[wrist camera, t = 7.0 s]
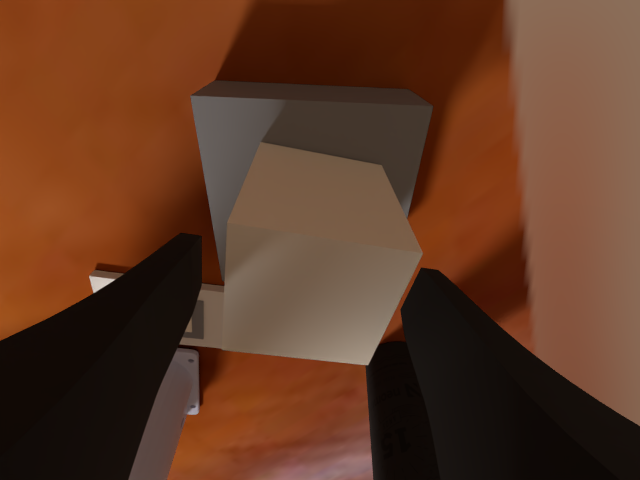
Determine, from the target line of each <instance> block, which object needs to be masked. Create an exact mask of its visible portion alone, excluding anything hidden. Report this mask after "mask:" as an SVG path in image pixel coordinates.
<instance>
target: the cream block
mask: <svg viewBox="0 0 640 480" xmlns="http://www.w3.org/2000/svg"><path fill="white" fill-rule="evenodd" d="M422 254H423V252H422V250H421V248H420V246H419V244H418V242H417V240H416V237H415V235H414V233H413V231H412V229H411V227H410V225H409V223H408V220H407V218H406V216H405V214H404V212H403V210H402V208H401V205H400V203H399V201H398V199H397V197H396V195H395V193H394V190H393V188H392V186H391V184H390V182H389V180H388V178H387V176H386V173H385V171H384V169H383V167H382V165H378V164H373V163H368V162H363V161H357V160H352V159H347V158H342V157H337V156H331V155H326V154H321V153H316V152H311V151H305V150H300V149H295V148H290V147H284V146H279V145H274V144H269V143H264V142H260V145H259V147H258V149H257V152H256V154H255V157H254V159H253V161H252V164H251V166H250V169H249V171H248V173H247V176H246V178H245V181H244V183H243V186H242V188H241V190H240V193H239V195H238V198H237V200H236V202H235V205H234V207H233V210H232V212H231V214H230V217H229V219H228V222H227V237H226V260H225V284H224V307H223V331H222V350H227V351H236V352H246V353H255V354H265V355H274V356H284V357H293V358H303V359H313V360H322V361H332V362H341V363H351V364H360V365H369V362H370V360H371V358H372V356H373V354H374V352H375V350H376V348H377V346H378V344H379V342H380V340H381V338H382V336H383V334H384V332H385V330H386V328H387V326H388V324H389V322H390V320H391V318H392V316H393V313H394V311H395V309H396V307H397V305H398V303H399V301H400V299H401V297H402V295H403V293H404V291H405V289H406V287H407V285H408V283H409V281H410V279H411V277H412V275H413V273H414V271H415V269H416V267H417V264H418V262H419V260H420V258H421V256H422Z"/></svg>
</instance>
